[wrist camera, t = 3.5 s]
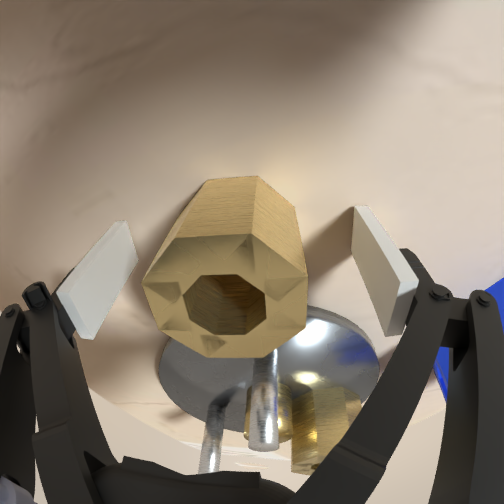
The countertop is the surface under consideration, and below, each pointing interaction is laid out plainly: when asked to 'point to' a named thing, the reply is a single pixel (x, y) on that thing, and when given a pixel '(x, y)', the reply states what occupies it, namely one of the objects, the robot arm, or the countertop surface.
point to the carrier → (278, 391)
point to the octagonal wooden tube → (231, 272)
